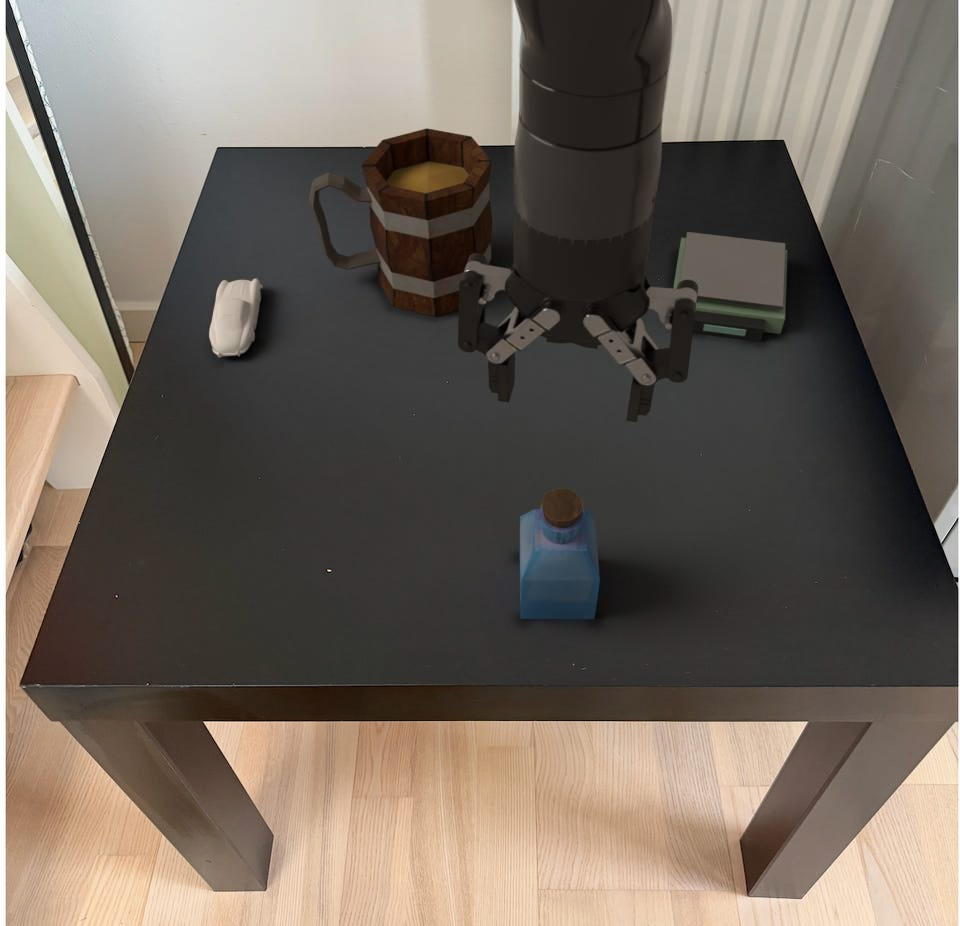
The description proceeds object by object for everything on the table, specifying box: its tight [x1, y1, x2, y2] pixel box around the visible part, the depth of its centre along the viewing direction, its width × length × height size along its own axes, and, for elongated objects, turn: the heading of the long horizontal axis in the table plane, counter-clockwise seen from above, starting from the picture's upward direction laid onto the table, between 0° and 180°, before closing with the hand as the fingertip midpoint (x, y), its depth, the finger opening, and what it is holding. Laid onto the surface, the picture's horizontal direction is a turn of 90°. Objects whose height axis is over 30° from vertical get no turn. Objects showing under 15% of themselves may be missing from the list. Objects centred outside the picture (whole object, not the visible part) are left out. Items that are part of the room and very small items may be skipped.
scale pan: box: [679, 231, 786, 310], centre depth 100 cm, size 11×11×1 cm
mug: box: [308, 127, 493, 318], centre depth 100 cm, size 20×14×15 cm
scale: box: [673, 237, 788, 342], centre depth 101 cm, size 12×14×2 cm
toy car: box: [208, 278, 264, 358], centre depth 100 cm, size 5×12×4 cm, turn 3°
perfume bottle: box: [519, 487, 601, 620], centre depth 74 cm, size 6×6×12 cm
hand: (569, 402), depth 60 cm, fingers open, 8 cm apart
